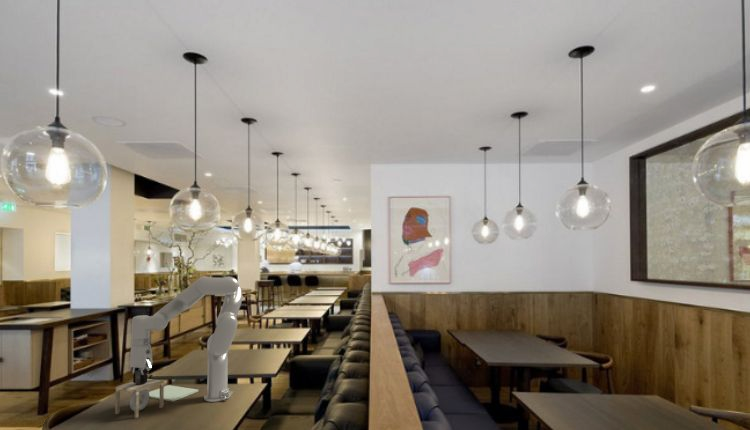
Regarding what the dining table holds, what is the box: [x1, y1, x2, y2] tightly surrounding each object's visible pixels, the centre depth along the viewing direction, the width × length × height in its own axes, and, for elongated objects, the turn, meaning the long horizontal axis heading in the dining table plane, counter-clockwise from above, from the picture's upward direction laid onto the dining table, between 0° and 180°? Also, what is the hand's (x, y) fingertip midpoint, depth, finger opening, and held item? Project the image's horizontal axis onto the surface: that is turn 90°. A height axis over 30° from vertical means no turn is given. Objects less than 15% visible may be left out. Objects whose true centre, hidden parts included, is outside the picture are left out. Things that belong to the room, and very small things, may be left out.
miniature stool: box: [114, 369, 165, 419], centre depth 198 cm, size 14×14×18 cm
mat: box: [148, 384, 199, 403], centre depth 219 cm, size 22×16×1 cm
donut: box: [129, 389, 150, 412], centre depth 197 cm, size 10×4×10 cm, turn 162°
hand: (140, 382), depth 198 cm, fingers closed on miniature stool, 4 cm apart
